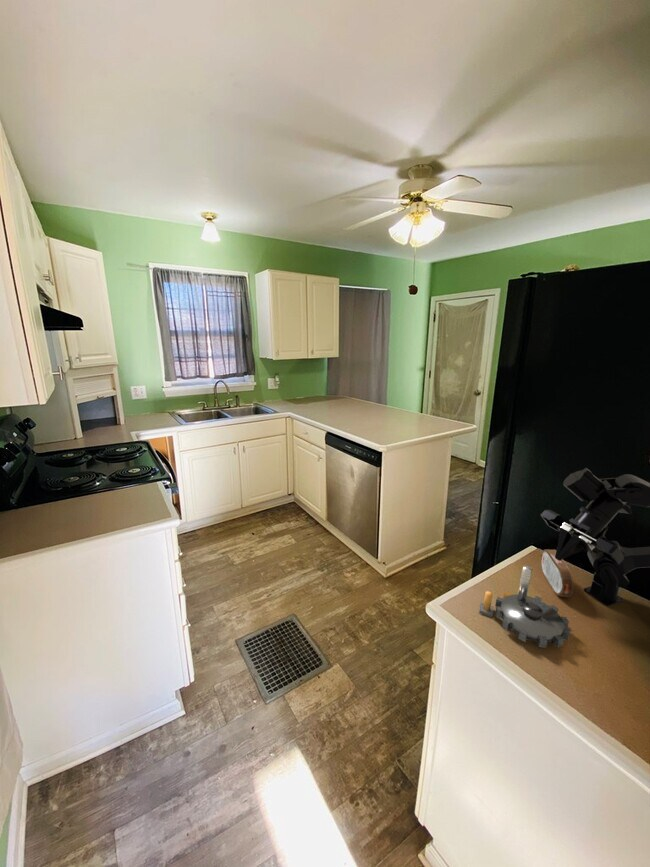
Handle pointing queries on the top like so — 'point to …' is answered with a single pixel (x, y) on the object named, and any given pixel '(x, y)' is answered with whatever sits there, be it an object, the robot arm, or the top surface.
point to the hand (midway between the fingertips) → (556, 559)
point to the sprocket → (531, 616)
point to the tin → (557, 573)
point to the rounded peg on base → (487, 605)
